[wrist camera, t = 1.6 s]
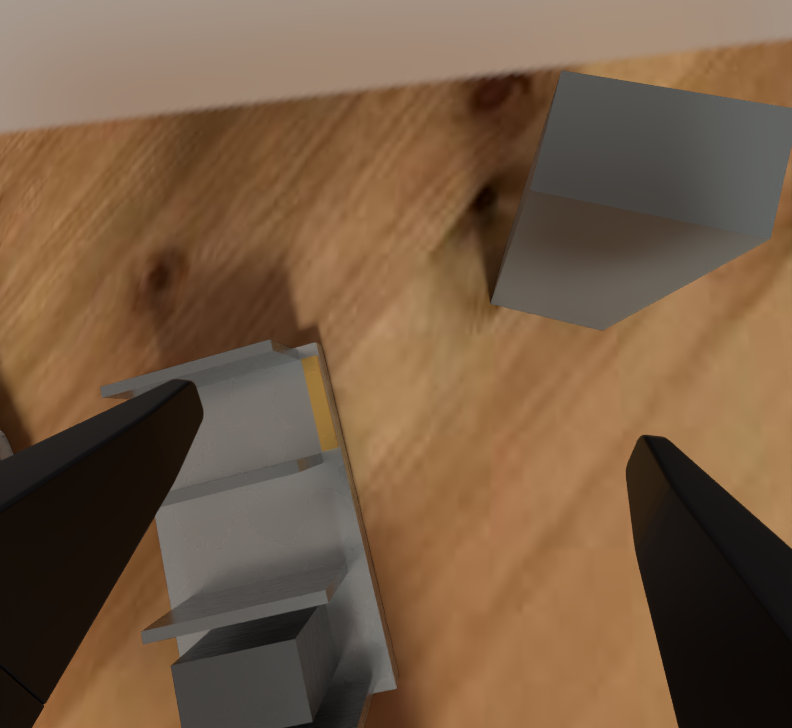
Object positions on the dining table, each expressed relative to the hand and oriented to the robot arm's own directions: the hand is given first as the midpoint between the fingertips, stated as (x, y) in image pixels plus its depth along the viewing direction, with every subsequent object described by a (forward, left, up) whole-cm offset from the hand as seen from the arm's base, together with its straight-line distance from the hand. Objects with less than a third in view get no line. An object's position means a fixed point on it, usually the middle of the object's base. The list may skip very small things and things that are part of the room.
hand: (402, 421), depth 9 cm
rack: (-2, +10, -14) cm, 17 cm away
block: (+4, -8, -14) cm, 16 cm away
